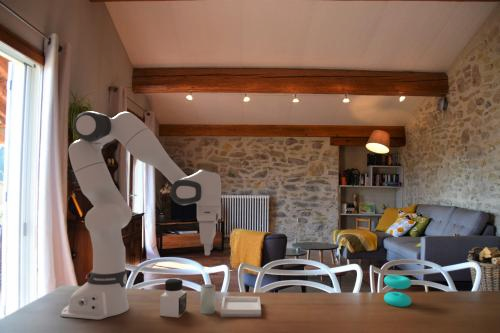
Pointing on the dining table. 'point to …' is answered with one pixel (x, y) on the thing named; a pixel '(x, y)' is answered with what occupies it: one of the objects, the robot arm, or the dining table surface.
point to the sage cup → (207, 299)
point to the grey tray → (241, 307)
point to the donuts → (397, 297)
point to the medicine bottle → (173, 299)
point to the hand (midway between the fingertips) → (208, 252)
